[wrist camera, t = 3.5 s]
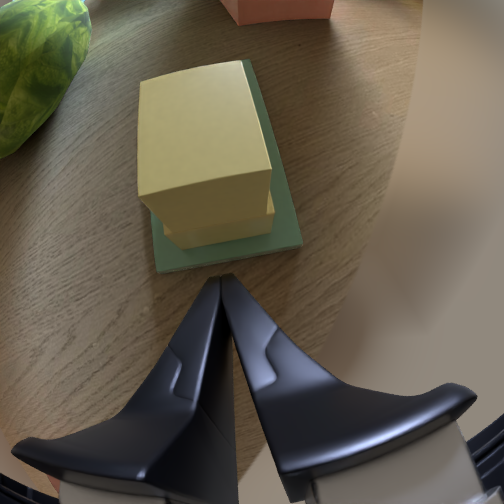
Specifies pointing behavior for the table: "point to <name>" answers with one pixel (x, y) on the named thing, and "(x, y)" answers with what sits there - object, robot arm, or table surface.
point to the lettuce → (37, 62)
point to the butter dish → (246, 247)
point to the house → (277, 10)
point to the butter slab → (201, 148)
